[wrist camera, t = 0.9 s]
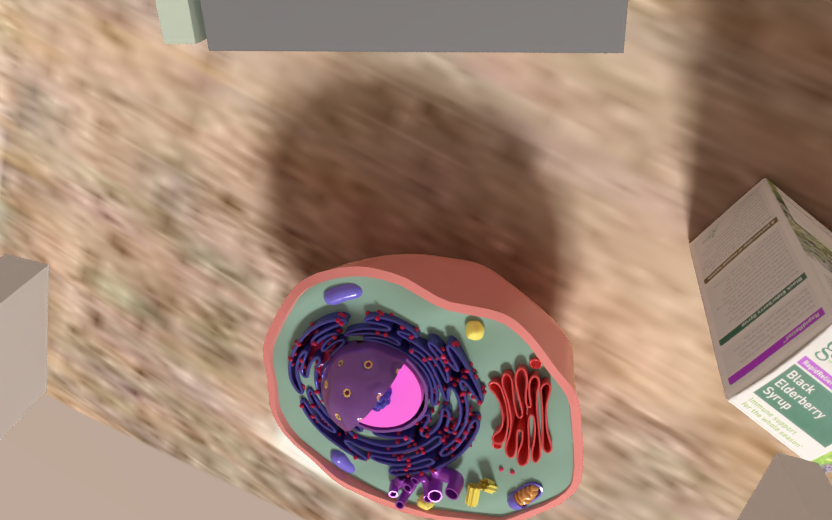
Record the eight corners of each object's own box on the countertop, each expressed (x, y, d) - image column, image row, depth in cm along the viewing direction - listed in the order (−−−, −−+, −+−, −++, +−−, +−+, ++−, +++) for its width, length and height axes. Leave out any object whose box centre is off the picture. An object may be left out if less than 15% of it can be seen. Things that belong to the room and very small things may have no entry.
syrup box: (684, 244, 43) (717, 407, 30) (767, 170, 40) (840, 317, 27) (757, 302, 43) (819, 484, 31) (844, 234, 40) (951, 405, 28)
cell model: (483, 479, 55) (457, 615, 45) (263, 317, 52) (185, 425, 42) (655, 346, 46) (668, 478, 37) (402, 144, 44) (344, 229, 34)
